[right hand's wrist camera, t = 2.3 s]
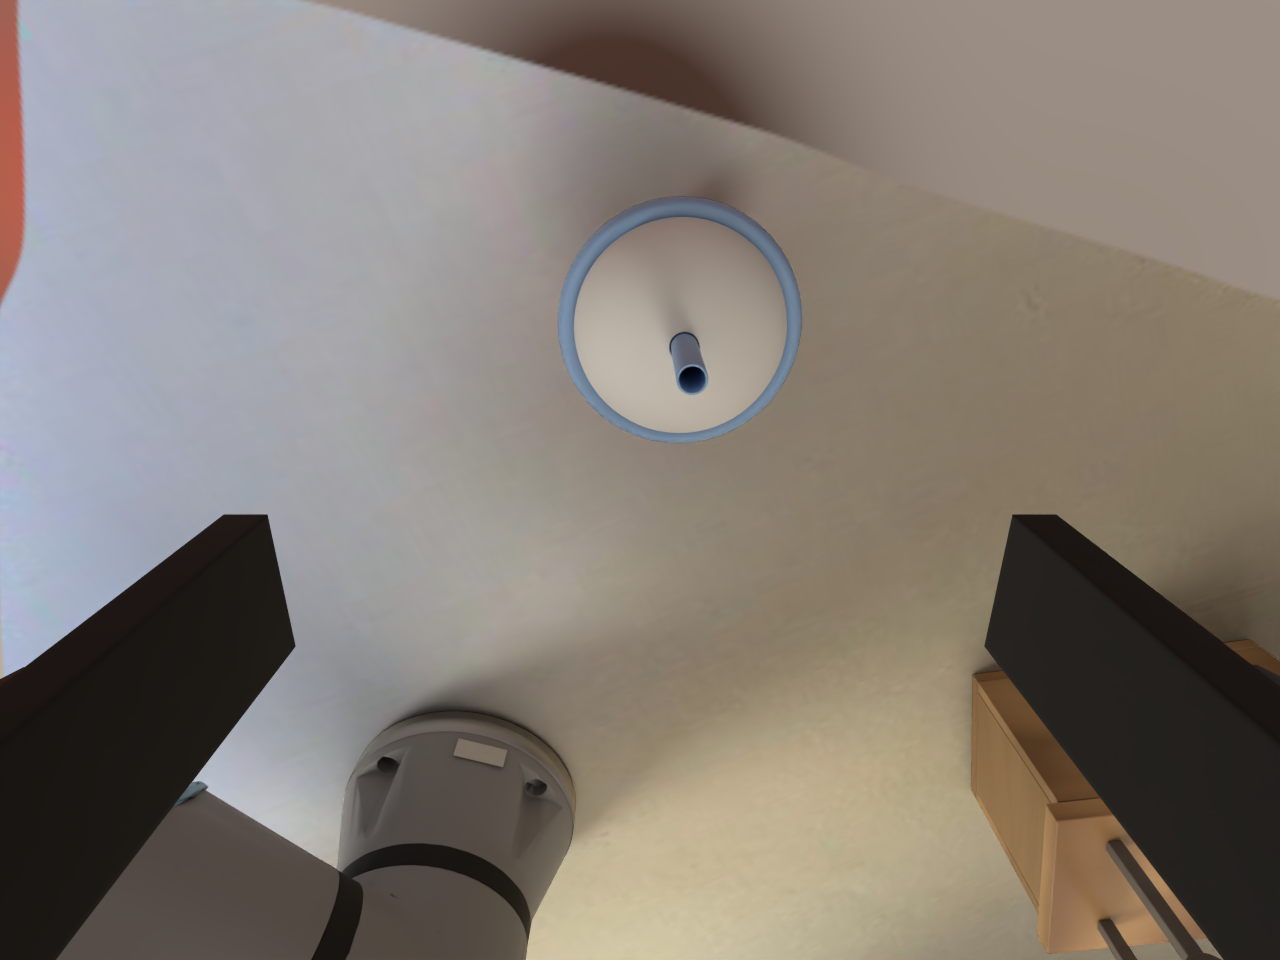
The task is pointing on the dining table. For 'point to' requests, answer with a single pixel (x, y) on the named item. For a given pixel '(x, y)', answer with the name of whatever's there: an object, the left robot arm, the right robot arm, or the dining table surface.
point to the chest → (1032, 767)
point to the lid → (1105, 889)
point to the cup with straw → (679, 319)
